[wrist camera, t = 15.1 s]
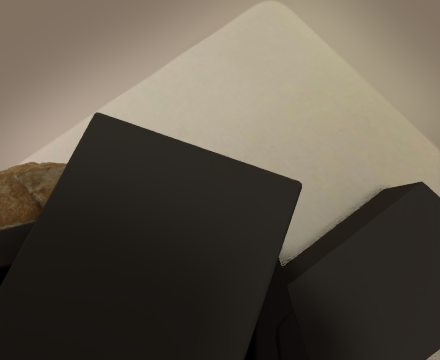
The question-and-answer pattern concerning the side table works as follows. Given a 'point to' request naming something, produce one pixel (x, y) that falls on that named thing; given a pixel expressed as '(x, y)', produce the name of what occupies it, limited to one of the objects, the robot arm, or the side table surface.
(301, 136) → the side table surface
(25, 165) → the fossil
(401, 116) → the side table surface
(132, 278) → the black pad block
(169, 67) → the side table surface
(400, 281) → the base pad
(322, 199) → the side table surface
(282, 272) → the robot arm
